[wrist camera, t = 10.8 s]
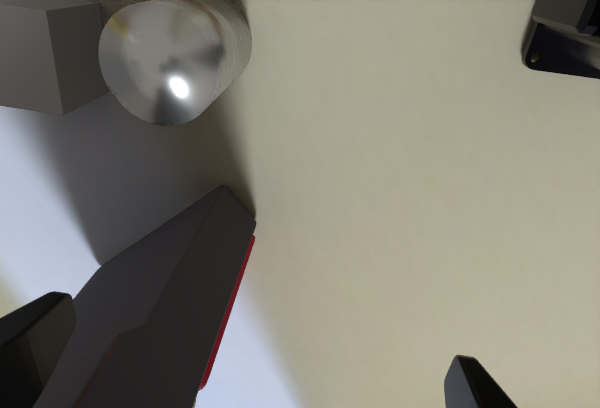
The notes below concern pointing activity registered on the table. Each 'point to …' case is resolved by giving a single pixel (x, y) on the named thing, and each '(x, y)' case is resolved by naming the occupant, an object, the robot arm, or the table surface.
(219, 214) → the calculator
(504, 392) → the robot arm
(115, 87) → the metal canister
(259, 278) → the table surface
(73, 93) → the gray cube
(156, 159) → the table surface
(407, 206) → the table surface
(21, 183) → the table surface
